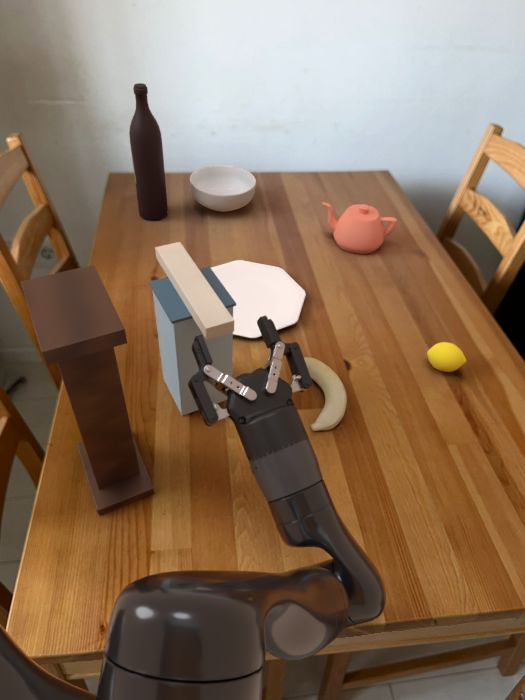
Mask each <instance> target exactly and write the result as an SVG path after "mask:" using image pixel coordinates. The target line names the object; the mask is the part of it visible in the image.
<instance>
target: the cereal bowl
mask: <svg viewBox="0 0 525 700" xmlns="http://www.w3.org/2000/svg"><path fill="white" fill-rule="evenodd" d="M256 187H257V180H256V177H255V176H254V174H252V172H250V171H248V170H247V169H245V168H242V167H239V166H234V165H227V164H214V165H207V166H203V167H200V168H198V169H196V170H194V171H193V172H192V173H191V174H190V176H189V189H190V193H191V195H192V197H193V199H194V200H195V201H196V202H197V203H199V204H200V205H201V206H202V207H205V208H207V209H210V210H213V211H215V212H221V213H225V212H231V211H236V210H239V209H242V208H243V207H246V206H247V205H248V204H249V203H250V202H251V201H252V200H253V198H254V196H255V194H256V189H257V188H256Z"/></svg>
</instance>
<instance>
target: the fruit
mask: <svg viewBox="0 0 525 700" xmlns="http://www.w3.org/2000/svg"><path fill="white" fill-rule="evenodd" d="M303 357H304V360H305V363H306V365H307V368H308V371H309V374H310V377H311V379H312V381H314V382H315V383H316V384H317V385H318V386H319V387H320V388H321V390H322V392H323V395H324V401H325V402H324V405H323V407H322V409H321V411H320V413H319V415H318V416H317V418H316V420H315V421H314V422H313V423H312V424H311V425H310V428H311V430H312V431H313V432H318V431H330V430H332V429H334V428H336V426H337V425H338V424H339V423H341V421H342V420H343V418H344V416H345V412H346V409H347V402H348V397H347V392H346V388H345V386H344V384H343V382H342V380H341V378H340V377H339V376H338V375H337V374H336V372H335V371H334V370H333V369H332V368H330V367H329V365H327V364H325V363H324V362H323V361H321V360H319V359H317V358H314V357H310V356H303Z"/></svg>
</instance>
